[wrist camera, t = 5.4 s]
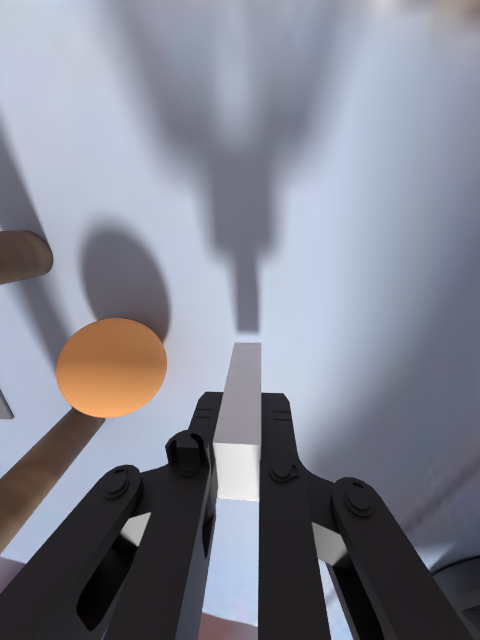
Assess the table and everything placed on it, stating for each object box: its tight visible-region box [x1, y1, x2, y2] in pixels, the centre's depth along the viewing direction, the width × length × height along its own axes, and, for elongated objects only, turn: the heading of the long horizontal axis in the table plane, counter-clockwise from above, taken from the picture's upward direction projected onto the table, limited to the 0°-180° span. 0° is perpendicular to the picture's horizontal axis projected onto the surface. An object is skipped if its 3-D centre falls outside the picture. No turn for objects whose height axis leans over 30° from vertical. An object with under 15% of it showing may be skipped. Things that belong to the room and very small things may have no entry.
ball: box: [56, 318, 167, 418], centre depth 13 cm, size 6×6×6 cm
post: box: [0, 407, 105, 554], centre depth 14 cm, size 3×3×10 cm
